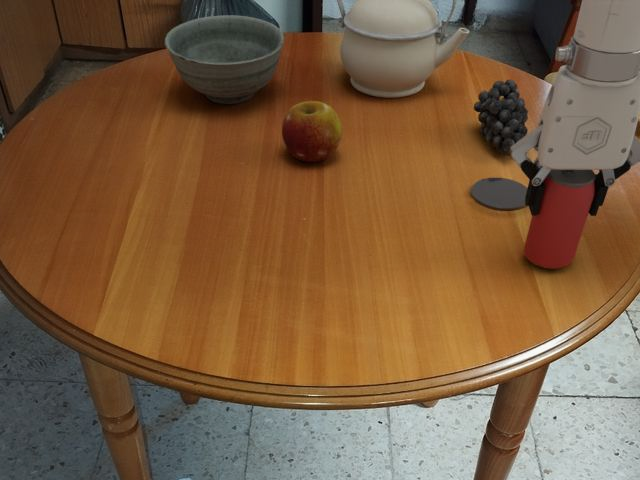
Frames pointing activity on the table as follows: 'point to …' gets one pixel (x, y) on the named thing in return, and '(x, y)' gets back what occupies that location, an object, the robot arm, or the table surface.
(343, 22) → the kettle
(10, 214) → the table surface
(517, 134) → the fruit
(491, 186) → the coaster
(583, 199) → the beer can
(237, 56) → the bowl
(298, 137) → the fruit
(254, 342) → the table surface
